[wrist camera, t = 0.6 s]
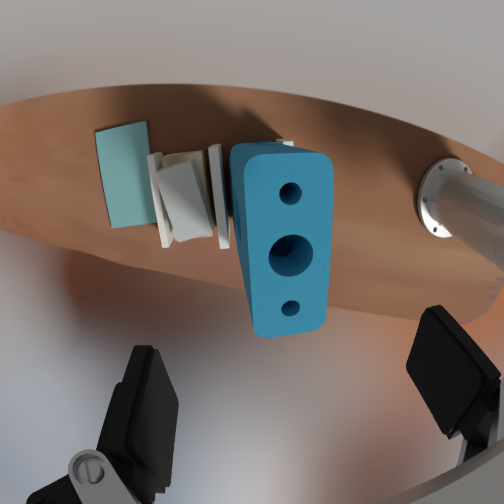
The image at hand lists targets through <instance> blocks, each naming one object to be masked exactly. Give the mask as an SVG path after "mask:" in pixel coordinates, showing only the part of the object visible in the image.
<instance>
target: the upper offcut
mask: <svg viewBox="0 0 504 504" xmlns="http://www.w3.org/2000/svg"><path fill="white" fill-rule="evenodd" d="M154 175H155V178H156V181H157V184H158V187H159V190H160V193H161V195H162V198H163V201H164V204H165V207H166V210H167V213H168V216H169V218H170V221H171V224H172V227H173V230H174V232H175V235H176V238H177V240H178V242H182V241H185V240H189V239H192V238H196V237H200V236H203V235H207V234H211V233H213V230H214V225H215V223H214V220H213V217H212V214H211V211H210V208H209V204H208V201H207V198H206V195H205V191H204V188H203V185H202V182H201V178H200V175H199V172H198V169H197V165H196V162H195V159H194V158H193V159H190V160H187V161H184V162H181V163H177V164H174V165H171V166H168V167H165V168H162V169H160V170H159V171H157V172H155V173H154Z"/></svg>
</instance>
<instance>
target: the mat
mask: <svg viewBox="0 0 504 504" xmlns="http://www.w3.org/2000/svg"><path fill="white" fill-rule="evenodd" d="M95 135H96V143H97V150H98V157H99V164H100V170H101V176H102V182H103V187H104V192H105V198H106V203H107V207H108V212H109V217H110V221H111V226H112V228H119V227H127V226H134V225H142V224H150V223H158V222H157V217H156V211H155V206H154V200H153V194H152V188H151V181H150V175H149V168H148V161H147V156H148V155H151V152H150V144H149V136H148V127H147V121H142V122H138V123H133V124H129V125H124V126H120V127H116V128H112V129H108V130H104V131H100V132H96V133H95Z"/></svg>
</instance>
